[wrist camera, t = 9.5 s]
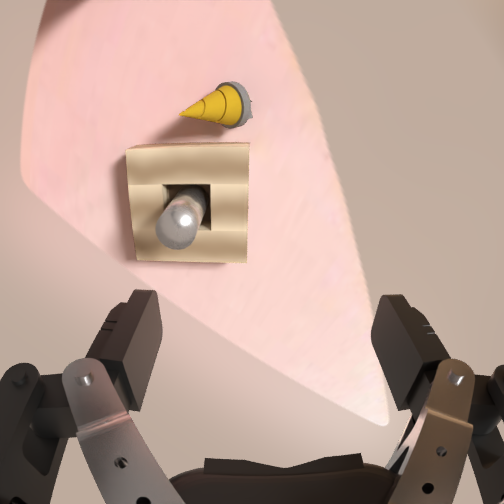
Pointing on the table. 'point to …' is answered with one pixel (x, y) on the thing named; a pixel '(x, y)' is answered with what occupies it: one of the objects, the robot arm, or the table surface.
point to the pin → (182, 217)
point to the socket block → (179, 175)
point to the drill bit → (223, 106)
